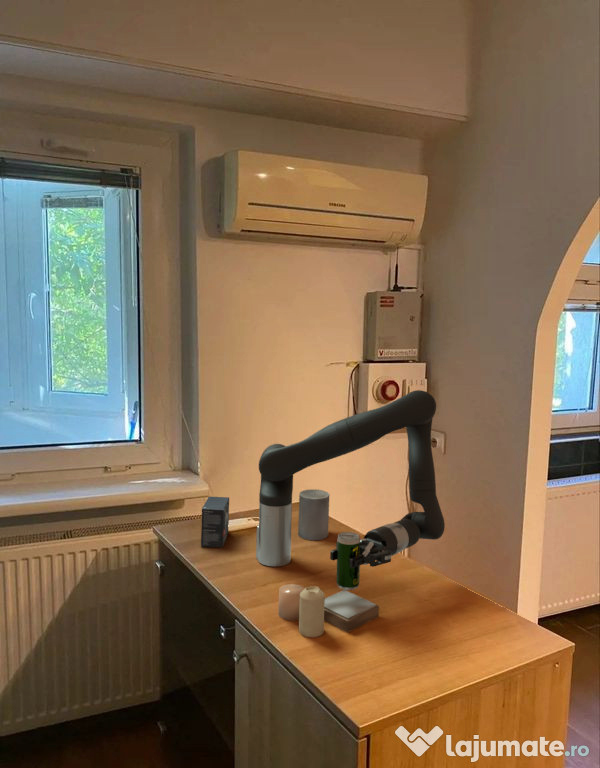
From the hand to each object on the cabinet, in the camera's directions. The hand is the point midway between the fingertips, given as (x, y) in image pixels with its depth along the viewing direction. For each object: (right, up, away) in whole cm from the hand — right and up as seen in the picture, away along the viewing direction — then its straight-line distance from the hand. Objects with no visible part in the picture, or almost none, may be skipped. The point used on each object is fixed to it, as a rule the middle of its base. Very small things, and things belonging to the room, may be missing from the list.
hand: (341, 559), depth 140 cm
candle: (-7, -15, -4) cm, 17 cm away
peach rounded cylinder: (-11, -14, +3) cm, 18 cm away
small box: (-36, -8, +49) cm, 61 cm away
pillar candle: (-5, -8, +55) cm, 56 cm away
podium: (+1, -14, +3) cm, 14 cm away
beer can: (+2, -7, +3) cm, 8 cm away
